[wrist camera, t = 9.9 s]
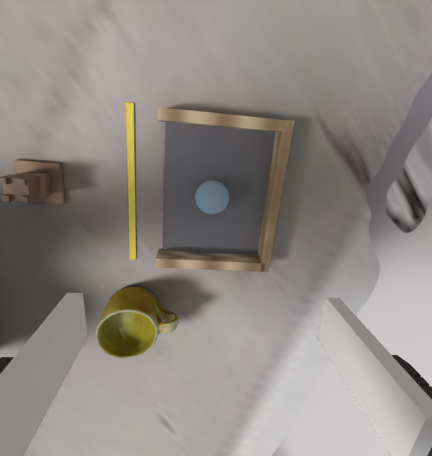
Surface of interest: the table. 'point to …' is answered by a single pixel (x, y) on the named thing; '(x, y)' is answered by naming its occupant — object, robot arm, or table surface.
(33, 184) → the tee
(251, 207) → the mat
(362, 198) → the table surface
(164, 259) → the wooden u-shaped frame
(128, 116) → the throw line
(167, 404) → the table surface
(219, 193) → the ball
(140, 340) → the mug
